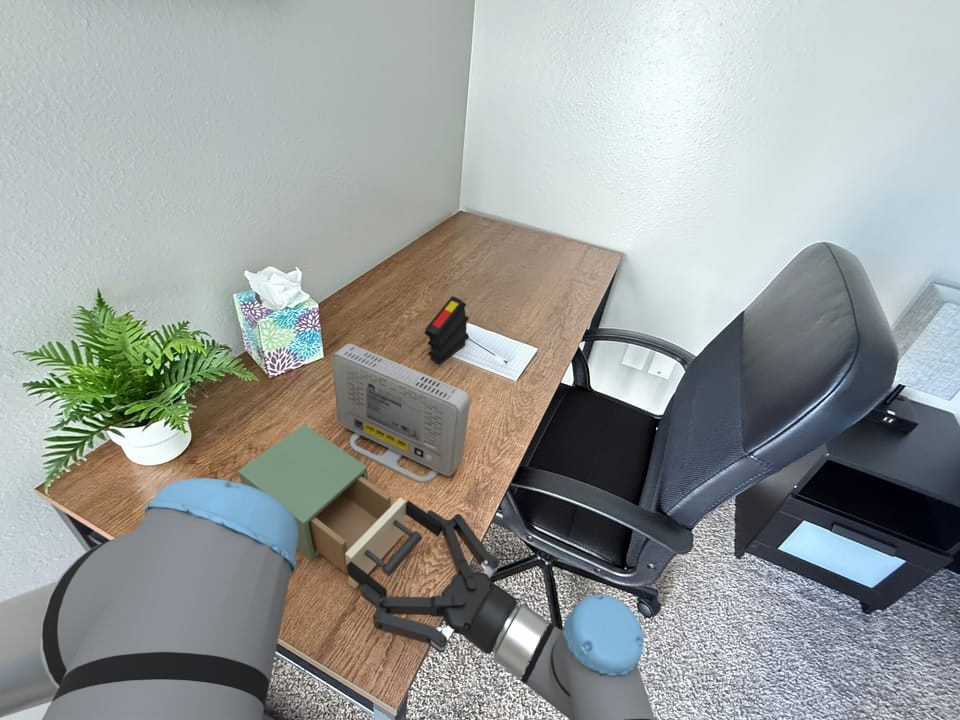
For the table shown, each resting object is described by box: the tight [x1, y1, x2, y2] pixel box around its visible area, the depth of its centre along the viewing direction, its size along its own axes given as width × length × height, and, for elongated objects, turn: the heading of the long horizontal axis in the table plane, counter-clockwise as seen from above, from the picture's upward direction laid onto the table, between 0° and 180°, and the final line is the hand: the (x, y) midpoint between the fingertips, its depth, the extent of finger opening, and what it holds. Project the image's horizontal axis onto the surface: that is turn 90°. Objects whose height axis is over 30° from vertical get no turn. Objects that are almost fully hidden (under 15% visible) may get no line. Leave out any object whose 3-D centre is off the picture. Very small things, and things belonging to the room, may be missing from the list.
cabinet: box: [237, 423, 369, 562], centre depth 75 cm, size 15×13×11 cm
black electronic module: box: [424, 295, 469, 365], centre depth 112 cm, size 4×13×15 cm, turn 146°
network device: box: [330, 343, 471, 484], centre depth 84 cm, size 26×9×20 cm, turn 65°
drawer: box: [308, 476, 423, 589], centre depth 71 cm, size 18×11×9 cm, turn 57°
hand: (379, 535), depth 68 cm, fingers closed on drawer, 11 cm apart
